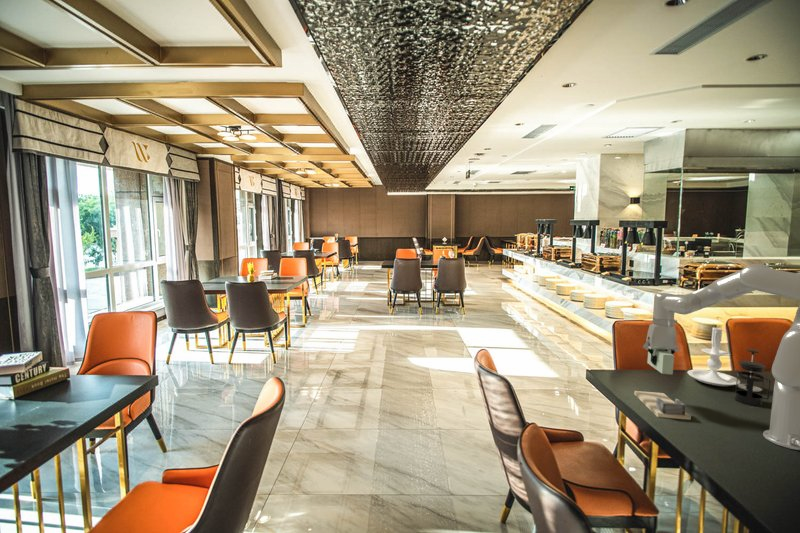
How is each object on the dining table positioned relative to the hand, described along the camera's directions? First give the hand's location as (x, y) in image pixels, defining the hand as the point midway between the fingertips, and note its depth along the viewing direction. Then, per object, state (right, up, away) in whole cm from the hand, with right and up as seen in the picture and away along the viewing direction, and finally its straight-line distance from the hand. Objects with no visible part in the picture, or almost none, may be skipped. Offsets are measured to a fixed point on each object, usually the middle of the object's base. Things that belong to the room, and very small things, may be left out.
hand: (659, 364), depth 175 cm
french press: (+42, -18, +4) cm, 45 cm away
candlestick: (+44, -16, +28) cm, 54 cm away
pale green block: (0, -2, 0) cm, 2 cm away
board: (-1, -17, -2) cm, 17 cm away
